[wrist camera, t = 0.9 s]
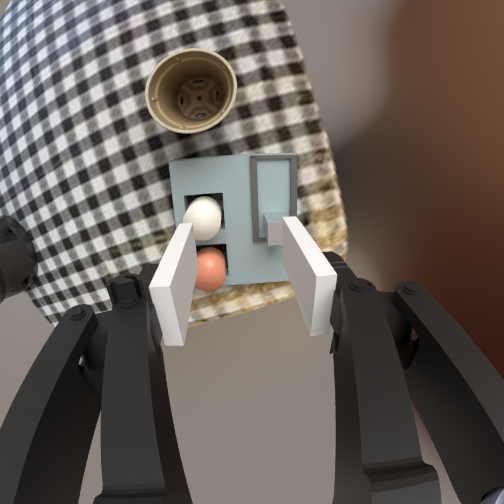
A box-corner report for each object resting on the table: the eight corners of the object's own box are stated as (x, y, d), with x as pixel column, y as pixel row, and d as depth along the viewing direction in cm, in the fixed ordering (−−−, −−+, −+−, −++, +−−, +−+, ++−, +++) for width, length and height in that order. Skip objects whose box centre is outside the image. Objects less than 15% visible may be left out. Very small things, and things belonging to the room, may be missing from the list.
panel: (187, 278, 42) (185, 289, 39) (172, 160, 34) (167, 162, 32) (291, 272, 43) (295, 281, 40) (292, 153, 35) (297, 155, 32)
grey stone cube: (264, 233, 37) (268, 245, 33) (263, 213, 36) (267, 223, 32) (284, 232, 37) (290, 244, 33) (284, 212, 36) (291, 222, 32)
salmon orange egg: (196, 276, 39) (193, 291, 35) (192, 248, 37) (188, 261, 33) (226, 274, 39) (226, 289, 35) (224, 246, 37) (223, 259, 34)
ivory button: (189, 230, 36) (185, 241, 32) (186, 197, 34) (180, 206, 30) (222, 227, 36) (222, 239, 32) (220, 195, 34) (219, 203, 31)
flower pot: (185, 146, 34) (171, 150, 26) (152, 90, 30) (130, 80, 22) (248, 111, 32) (253, 105, 25) (214, 54, 29) (210, 33, 21)
